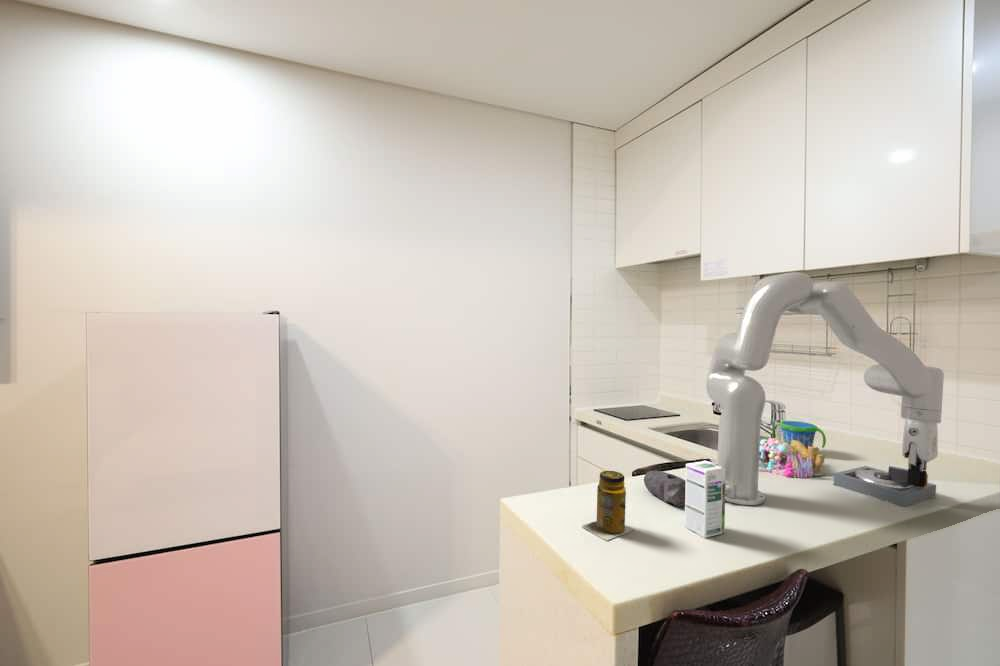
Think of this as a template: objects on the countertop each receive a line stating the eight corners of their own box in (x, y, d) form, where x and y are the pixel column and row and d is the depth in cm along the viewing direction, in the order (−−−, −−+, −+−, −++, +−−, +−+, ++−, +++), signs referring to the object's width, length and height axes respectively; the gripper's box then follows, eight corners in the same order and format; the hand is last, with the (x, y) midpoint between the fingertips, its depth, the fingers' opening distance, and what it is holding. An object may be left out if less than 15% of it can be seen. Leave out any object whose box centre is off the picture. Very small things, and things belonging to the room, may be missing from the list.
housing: (904, 506, 111) (905, 493, 111) (833, 484, 126) (834, 472, 126) (935, 496, 118) (936, 484, 118) (864, 476, 132) (865, 465, 132)
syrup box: (705, 539, 93) (707, 470, 93) (683, 526, 99) (685, 461, 98) (724, 534, 96) (727, 467, 95) (702, 522, 101) (704, 459, 100)
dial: (852, 482, 122) (852, 465, 122) (858, 472, 130) (859, 456, 130) (925, 499, 111) (926, 479, 111) (927, 486, 120) (928, 468, 120)
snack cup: (766, 450, 158) (767, 421, 157) (778, 445, 164) (779, 417, 164) (818, 462, 146) (820, 431, 145) (829, 456, 152) (830, 426, 152)
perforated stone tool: (637, 489, 120) (637, 464, 119) (652, 487, 122) (653, 462, 121) (678, 513, 106) (679, 484, 106) (695, 510, 108) (696, 481, 108)
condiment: (633, 530, 97) (635, 476, 96) (606, 541, 92) (608, 484, 91) (607, 517, 103) (608, 466, 102) (581, 527, 98) (582, 473, 97)
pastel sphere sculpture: (794, 456, 153) (795, 429, 152) (841, 481, 129) (842, 450, 129) (718, 453, 155) (719, 426, 154) (750, 477, 131) (752, 446, 131)
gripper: (932, 420, 107) (927, 496, 108) (948, 414, 115) (944, 484, 116) (892, 414, 113) (887, 486, 114) (910, 408, 121) (906, 475, 122)
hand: (916, 485), depth 115 cm, fingers closed
